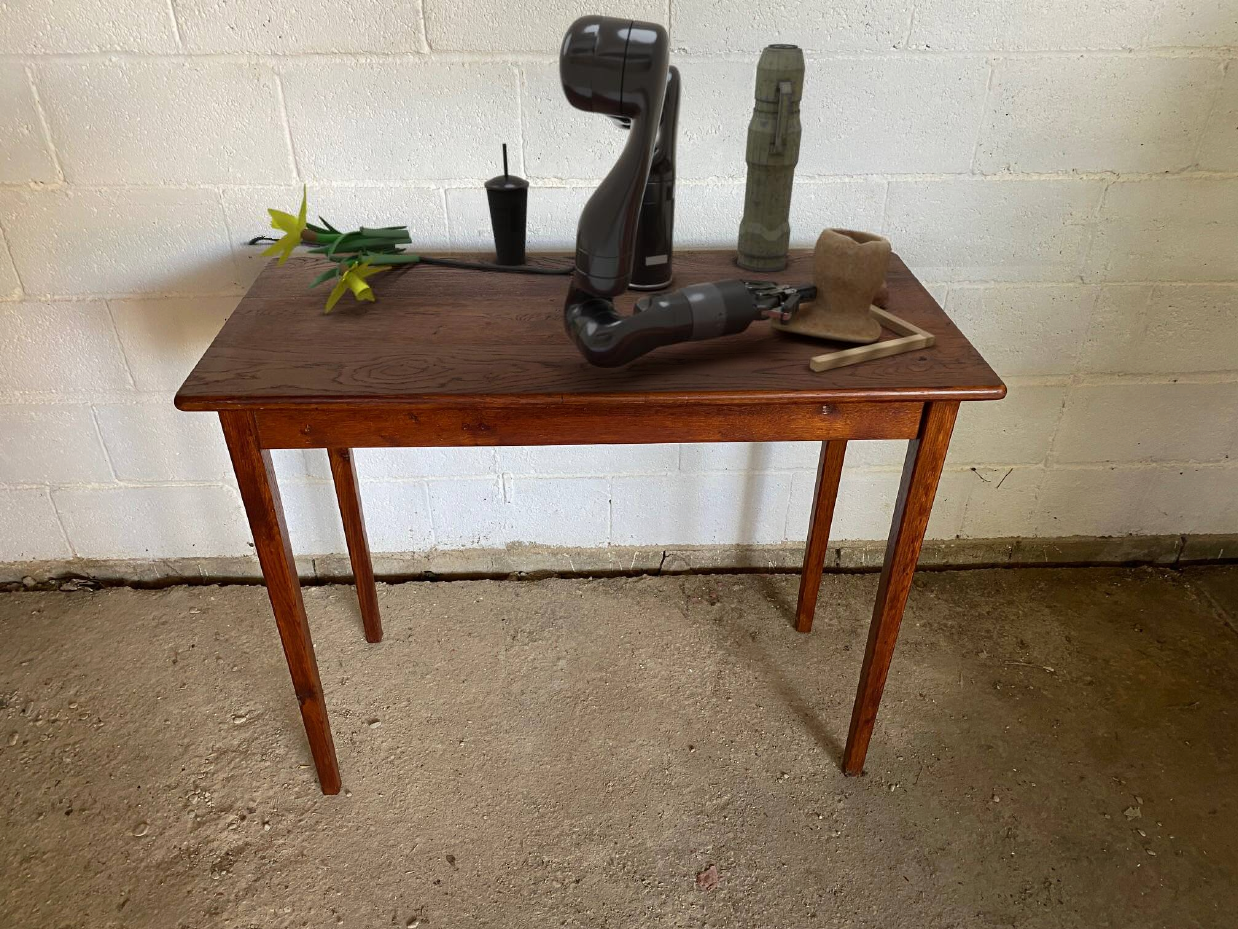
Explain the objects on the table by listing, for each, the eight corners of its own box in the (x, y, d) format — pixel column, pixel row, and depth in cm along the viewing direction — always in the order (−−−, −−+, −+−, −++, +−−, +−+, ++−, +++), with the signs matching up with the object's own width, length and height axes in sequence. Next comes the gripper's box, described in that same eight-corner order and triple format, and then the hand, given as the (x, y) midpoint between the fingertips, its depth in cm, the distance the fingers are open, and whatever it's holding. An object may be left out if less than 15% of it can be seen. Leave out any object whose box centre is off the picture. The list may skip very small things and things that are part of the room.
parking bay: (816, 372, 112) (817, 362, 111) (728, 315, 129) (729, 306, 128) (932, 345, 119) (934, 336, 119) (835, 295, 136) (836, 286, 135)
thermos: (775, 251, 155) (798, 41, 136) (795, 273, 145) (823, 49, 126) (728, 253, 154) (745, 41, 135) (746, 275, 144) (766, 49, 125)
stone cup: (885, 325, 126) (904, 225, 118) (874, 356, 116) (894, 250, 108) (785, 310, 130) (797, 213, 123) (767, 338, 121) (778, 235, 113)
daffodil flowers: (461, 270, 148) (362, 283, 115) (397, 308, 152) (284, 332, 119) (414, 182, 145) (298, 170, 112) (349, 224, 150) (221, 224, 117)
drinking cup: (539, 257, 151) (534, 141, 141) (522, 270, 145) (515, 149, 135) (501, 252, 153) (493, 137, 143) (482, 265, 147) (472, 146, 137)
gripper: (738, 300, 106) (847, 280, 112) (685, 269, 116) (788, 252, 122) (733, 355, 110) (838, 332, 116) (683, 319, 120) (783, 301, 126)
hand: (813, 291), depth 119 cm, fingers closed
